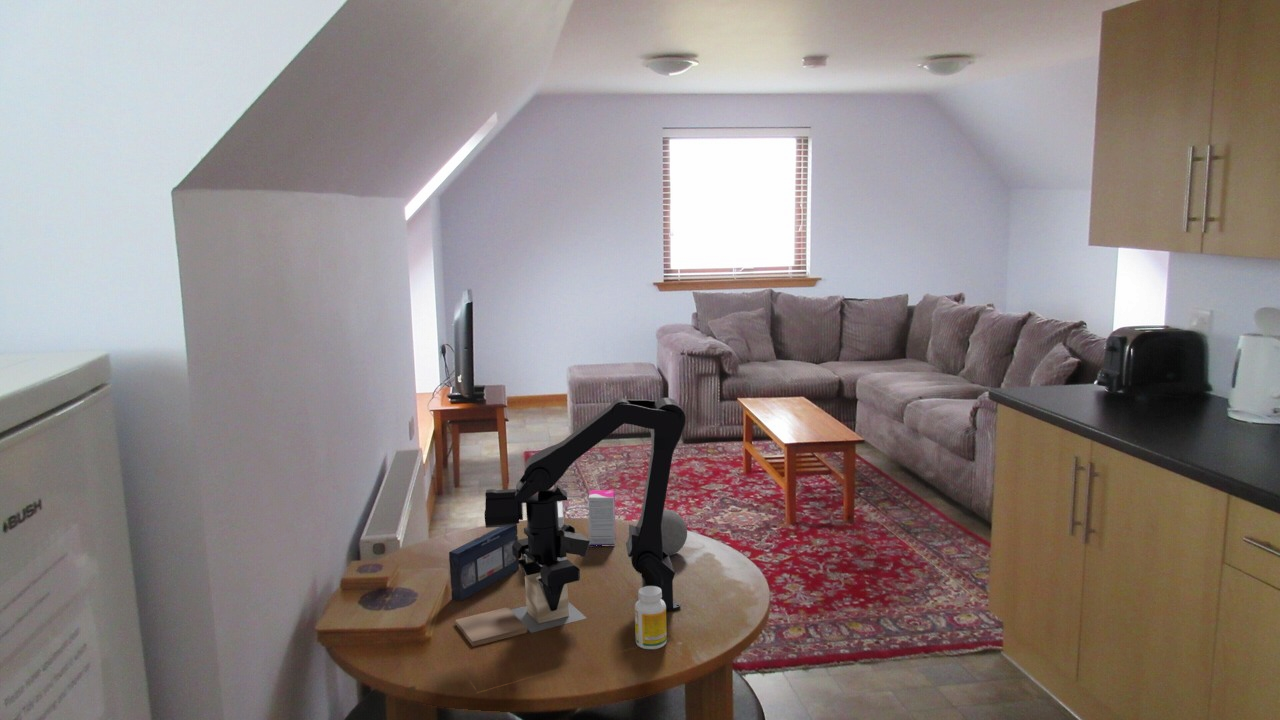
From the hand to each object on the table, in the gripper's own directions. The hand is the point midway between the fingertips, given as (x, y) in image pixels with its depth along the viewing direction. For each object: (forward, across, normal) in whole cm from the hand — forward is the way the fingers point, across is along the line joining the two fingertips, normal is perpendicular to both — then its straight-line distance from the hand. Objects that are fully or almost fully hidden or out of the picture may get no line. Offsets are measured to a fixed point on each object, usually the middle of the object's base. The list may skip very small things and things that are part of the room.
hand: (547, 604), depth 169 cm
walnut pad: (+2, 0, +11) cm, 11 cm away
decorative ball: (+2, +14, -33) cm, 36 cm away
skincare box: (+2, +27, -12) cm, 30 cm away
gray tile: (+2, 0, 0) cm, 2 cm away
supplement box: (+2, +28, -25) cm, 38 cm away
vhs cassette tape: (+2, +20, +5) cm, 21 cm away
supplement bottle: (+2, -20, -11) cm, 23 cm away
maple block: (+2, 0, 0) cm, 2 cm away
